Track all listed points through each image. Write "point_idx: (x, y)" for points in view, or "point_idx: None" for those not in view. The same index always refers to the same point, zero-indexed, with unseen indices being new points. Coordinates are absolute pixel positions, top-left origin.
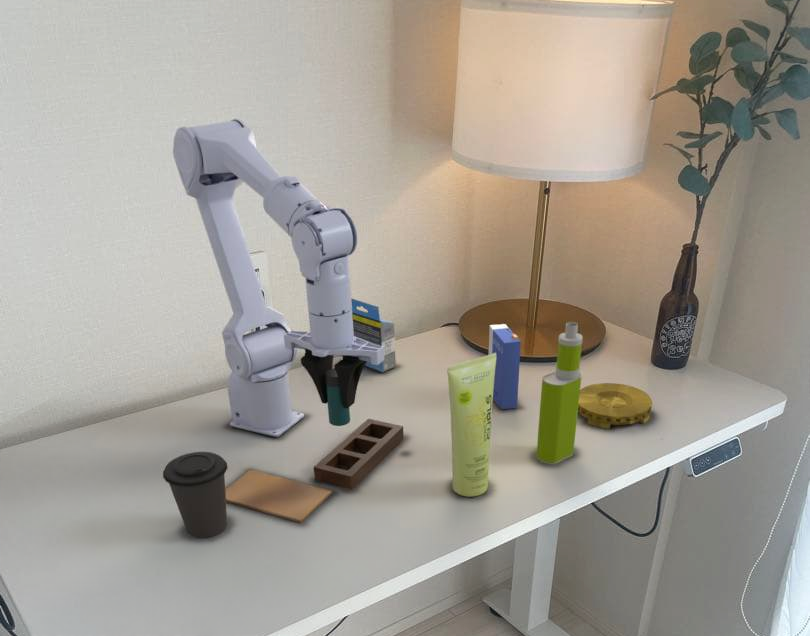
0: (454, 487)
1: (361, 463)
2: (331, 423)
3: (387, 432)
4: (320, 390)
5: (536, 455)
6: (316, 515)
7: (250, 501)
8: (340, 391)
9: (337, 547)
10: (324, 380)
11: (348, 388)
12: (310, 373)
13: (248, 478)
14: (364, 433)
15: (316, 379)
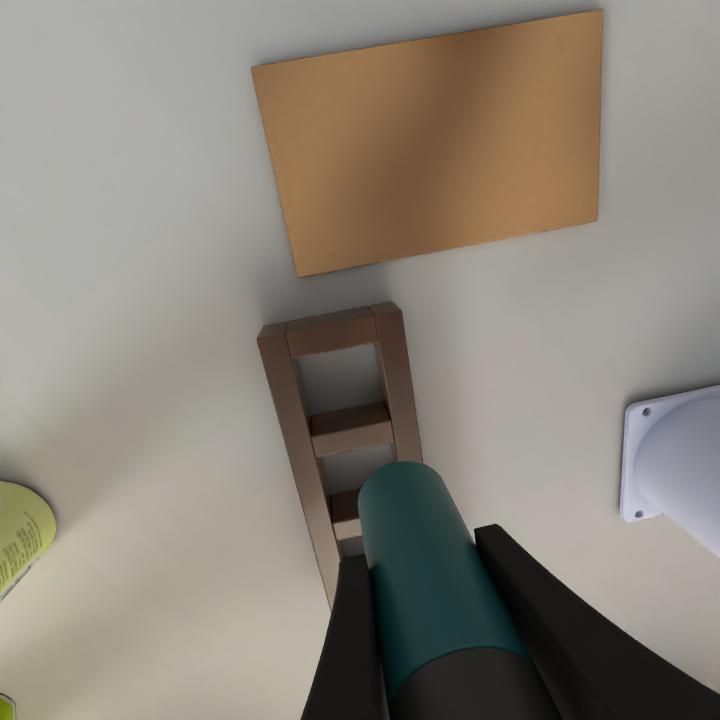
0: (8, 492)
1: (286, 416)
2: (412, 463)
3: None
4: (529, 584)
5: (9, 700)
6: (245, 143)
7: (479, 57)
8: (395, 644)
9: (32, 17)
10: (554, 677)
11: (309, 704)
12: (697, 700)
13: (572, 173)
14: None
15: (602, 659)
